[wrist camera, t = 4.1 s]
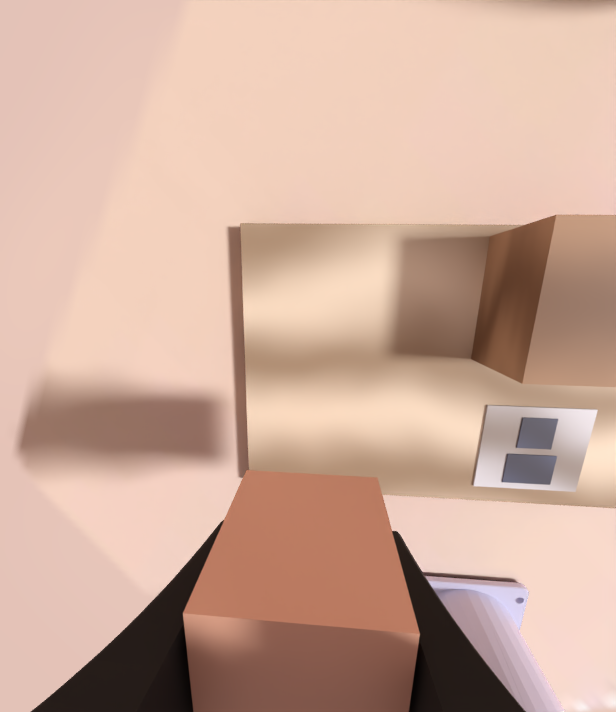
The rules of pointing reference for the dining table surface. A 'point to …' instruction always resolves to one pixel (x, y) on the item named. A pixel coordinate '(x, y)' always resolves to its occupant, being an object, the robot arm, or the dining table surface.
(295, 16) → the dining table surface
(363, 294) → the build board
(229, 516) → the top block
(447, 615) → the robot arm
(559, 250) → the base block
